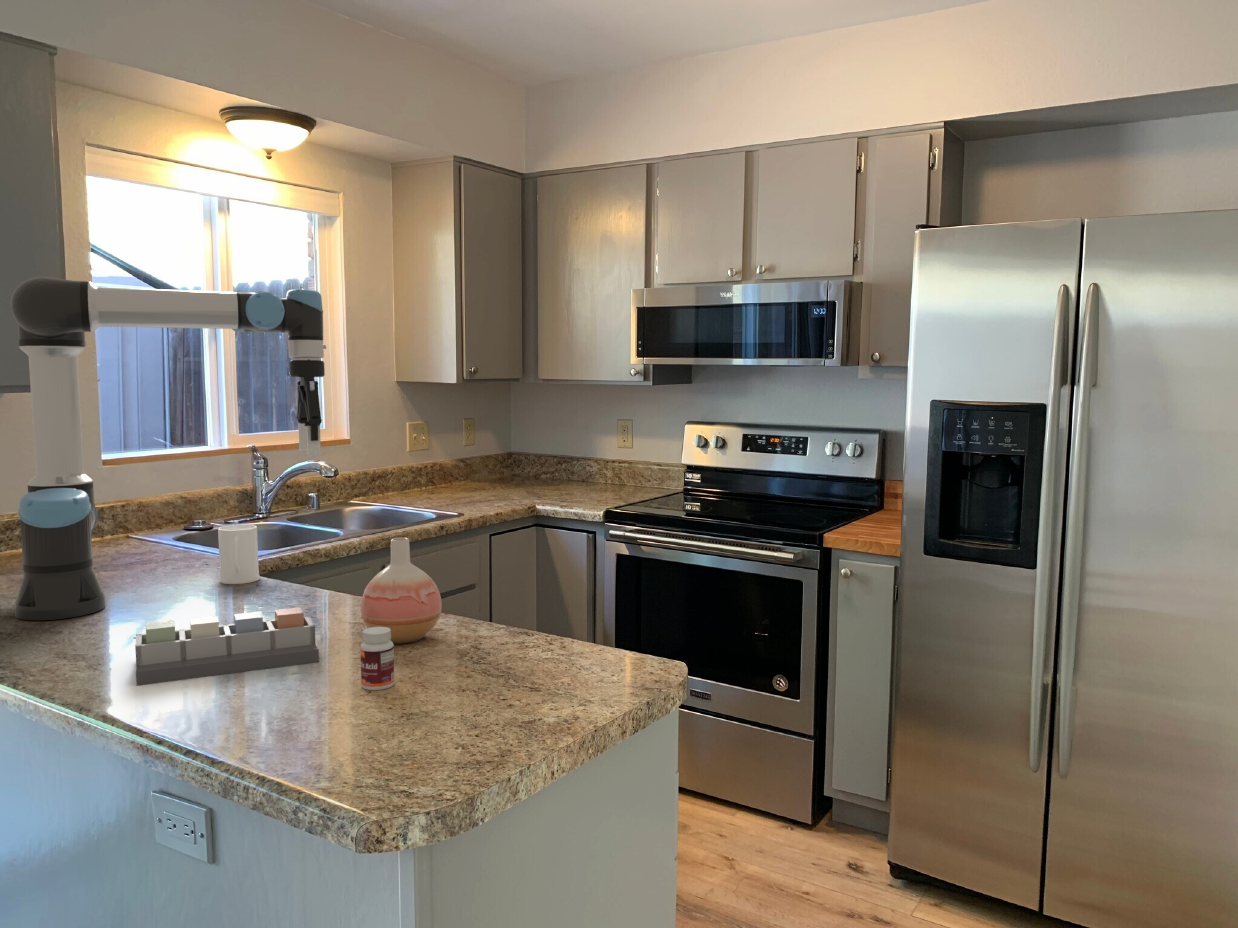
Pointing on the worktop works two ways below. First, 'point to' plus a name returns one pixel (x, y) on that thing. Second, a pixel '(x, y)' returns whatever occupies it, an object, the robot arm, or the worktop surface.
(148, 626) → the key sage
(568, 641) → the worktop surface
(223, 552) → the mug
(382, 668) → the pill bottle
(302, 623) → the key rust
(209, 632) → the key cream
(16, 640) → the worktop surface
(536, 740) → the worktop surface
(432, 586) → the vase
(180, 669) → the grey slotted tray
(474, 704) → the worktop surface
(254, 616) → the key slate
